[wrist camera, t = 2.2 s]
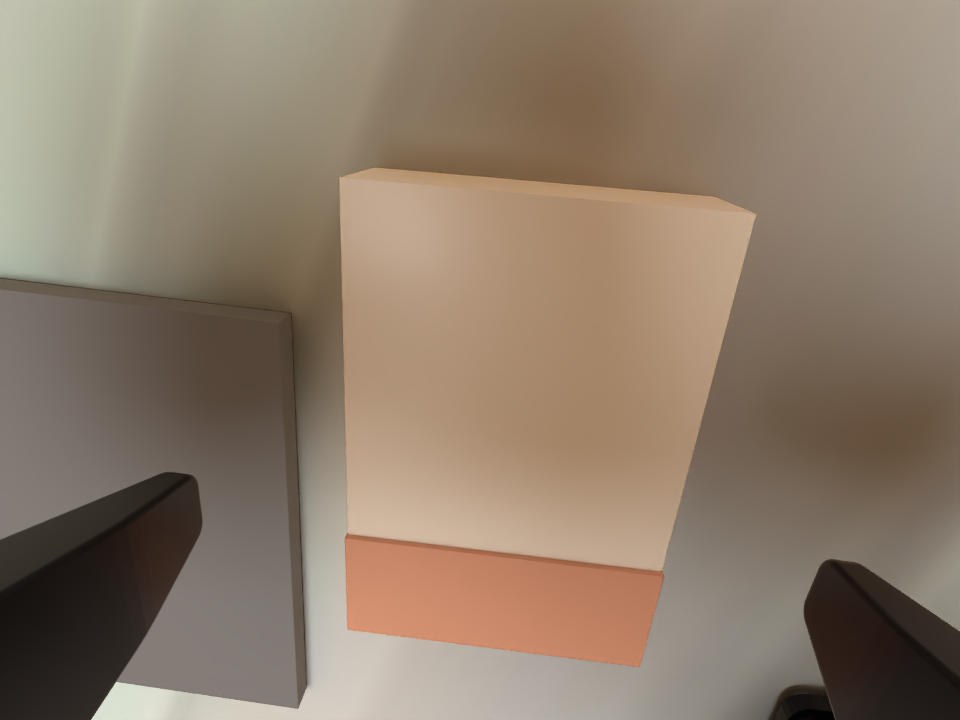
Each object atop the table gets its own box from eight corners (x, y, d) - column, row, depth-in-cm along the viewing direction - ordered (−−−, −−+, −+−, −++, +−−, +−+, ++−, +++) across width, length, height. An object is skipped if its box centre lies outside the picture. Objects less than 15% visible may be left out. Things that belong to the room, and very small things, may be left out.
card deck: (708, 194, 10) (761, 215, 8) (621, 574, 14) (640, 667, 11) (379, 165, 10) (335, 178, 8) (377, 545, 14) (347, 629, 12)
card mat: (291, 313, 11) (278, 322, 11) (306, 687, 16) (297, 708, 15) (-271, 246, 12) (-311, 252, 11) (-105, 627, 16) (-128, 646, 15)
